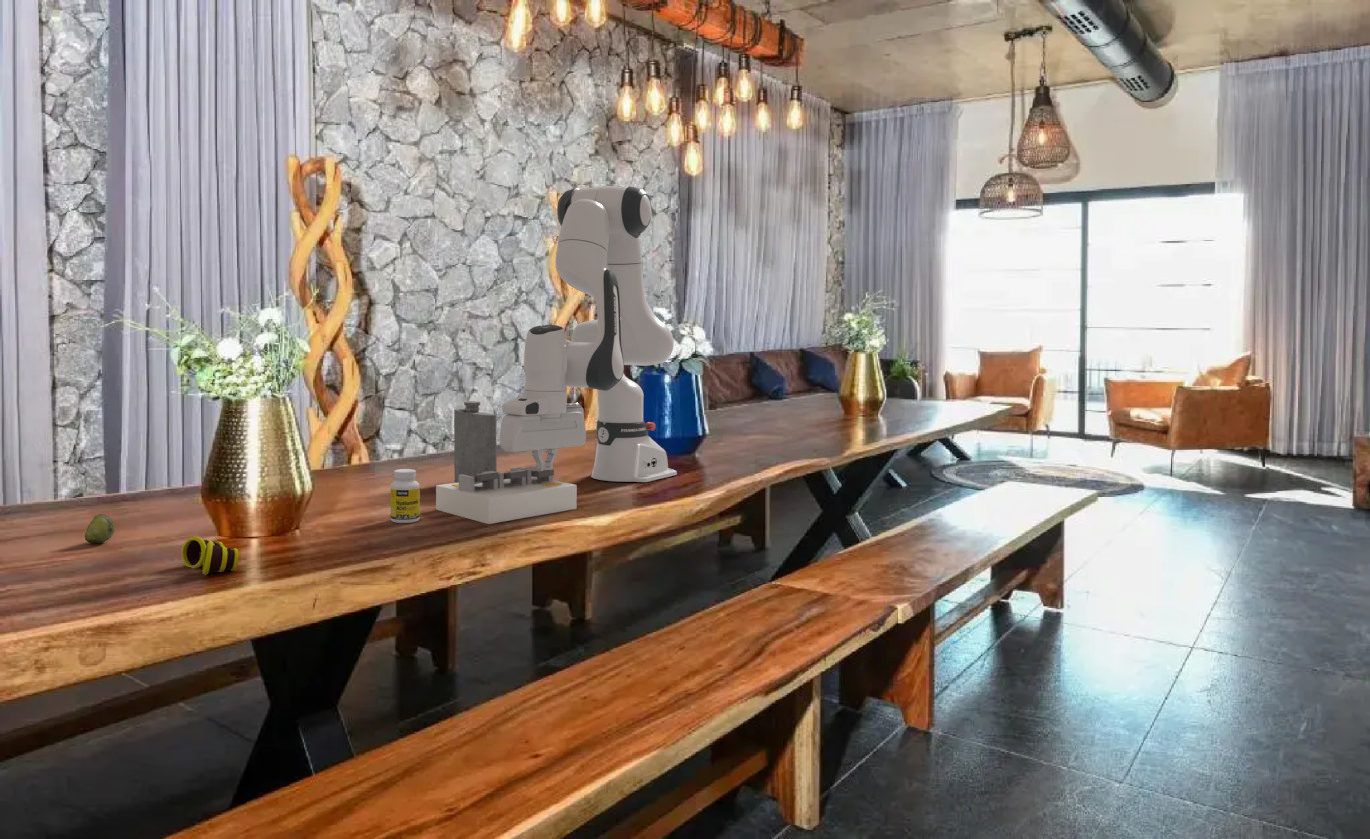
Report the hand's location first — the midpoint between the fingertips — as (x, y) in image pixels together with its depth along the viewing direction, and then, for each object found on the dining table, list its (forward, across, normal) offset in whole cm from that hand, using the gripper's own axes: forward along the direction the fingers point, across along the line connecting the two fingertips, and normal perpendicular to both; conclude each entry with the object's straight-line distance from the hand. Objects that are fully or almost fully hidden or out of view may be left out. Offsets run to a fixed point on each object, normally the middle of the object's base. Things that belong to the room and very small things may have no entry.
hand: (544, 470), depth 197 cm
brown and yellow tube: (+9, +67, +3) cm, 68 cm away
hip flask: (+8, -2, -29) cm, 30 cm away
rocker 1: (+1, +14, -4) cm, 14 cm away
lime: (+9, +74, -26) cm, 79 cm away
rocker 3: (+1, 0, -4) cm, 4 cm away
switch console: (+8, +7, -4) cm, 11 cm away
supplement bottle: (+8, +28, -8) cm, 30 cm away
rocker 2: (+1, +7, -4) cm, 8 cm away
